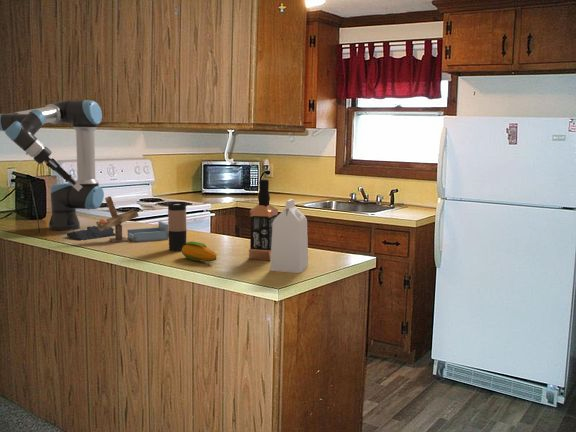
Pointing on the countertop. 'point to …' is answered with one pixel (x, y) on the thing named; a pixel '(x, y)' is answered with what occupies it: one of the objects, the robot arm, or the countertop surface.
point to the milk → (289, 240)
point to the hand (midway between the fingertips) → (80, 188)
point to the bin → (149, 233)
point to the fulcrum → (118, 235)
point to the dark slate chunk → (91, 233)
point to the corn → (198, 252)
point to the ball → (102, 221)
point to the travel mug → (176, 226)
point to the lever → (116, 216)
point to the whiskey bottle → (262, 225)
